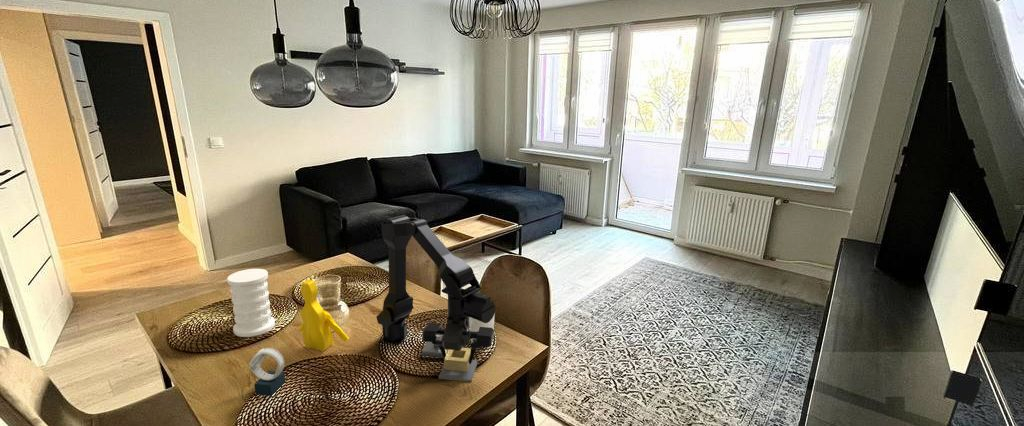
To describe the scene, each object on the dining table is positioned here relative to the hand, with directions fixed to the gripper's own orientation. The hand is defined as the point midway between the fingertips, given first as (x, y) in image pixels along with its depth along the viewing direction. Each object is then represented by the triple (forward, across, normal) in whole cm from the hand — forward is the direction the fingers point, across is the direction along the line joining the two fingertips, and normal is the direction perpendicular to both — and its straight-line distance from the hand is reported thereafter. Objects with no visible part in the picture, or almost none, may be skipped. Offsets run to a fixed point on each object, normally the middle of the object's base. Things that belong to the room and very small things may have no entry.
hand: (458, 361), depth 120 cm
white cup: (+3, +4, +16) cm, 17 cm away
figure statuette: (+3, -43, +5) cm, 44 cm away
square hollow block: (0, 0, 0) cm, 1 cm away
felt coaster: (+3, 0, 0) cm, 3 cm away
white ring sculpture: (+3, -46, -15) cm, 48 cm away
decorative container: (+3, -69, +12) cm, 70 cm away
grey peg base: (+3, -8, +8) cm, 12 cm away
